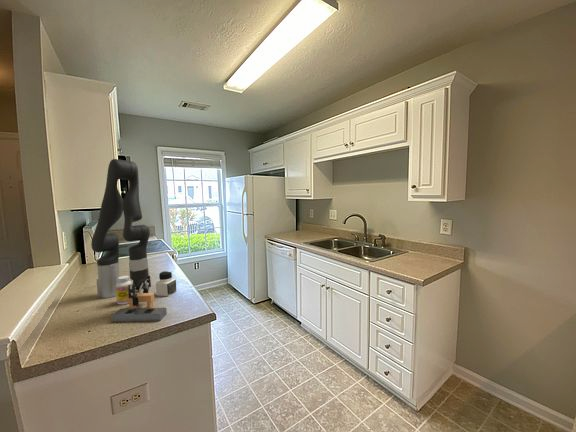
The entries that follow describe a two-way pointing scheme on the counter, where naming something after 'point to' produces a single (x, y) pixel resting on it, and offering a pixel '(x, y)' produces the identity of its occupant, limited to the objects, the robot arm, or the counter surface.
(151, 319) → the grey slotted block
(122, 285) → the supplement bottle
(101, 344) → the counter surface
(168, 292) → the medicine bottle
